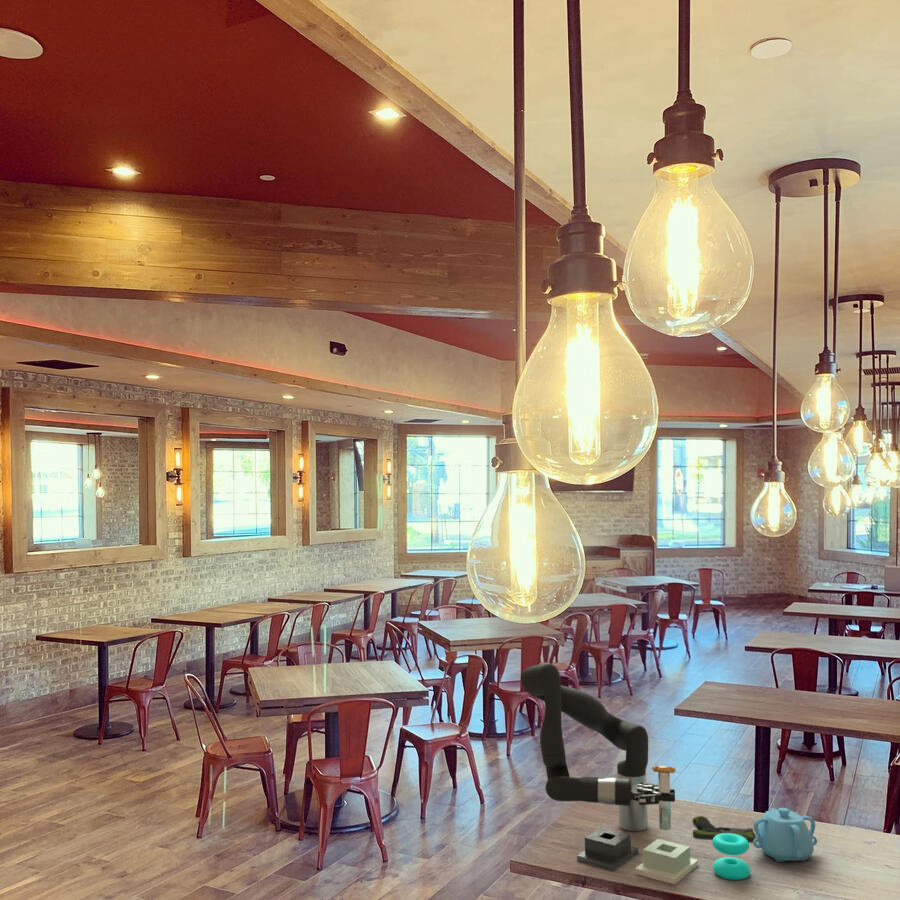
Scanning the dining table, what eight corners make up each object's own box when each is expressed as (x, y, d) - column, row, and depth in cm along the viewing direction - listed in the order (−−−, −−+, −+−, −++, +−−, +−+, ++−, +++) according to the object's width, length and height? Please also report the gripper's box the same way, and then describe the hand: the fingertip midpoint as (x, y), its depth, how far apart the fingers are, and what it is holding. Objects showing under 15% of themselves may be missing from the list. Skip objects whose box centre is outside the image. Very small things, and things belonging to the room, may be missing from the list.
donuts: (717, 829, 256) (752, 835, 250) (718, 864, 255) (753, 871, 250) (708, 840, 247) (744, 847, 242) (709, 876, 247) (745, 884, 241)
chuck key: (653, 829, 252) (652, 767, 253) (653, 825, 255) (652, 764, 256) (676, 831, 250) (675, 769, 251) (676, 827, 253) (675, 765, 254)
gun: (750, 826, 285) (757, 845, 270) (690, 822, 289) (693, 841, 274) (750, 818, 285) (757, 837, 270) (690, 814, 289) (693, 833, 274)
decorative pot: (825, 855, 260) (823, 809, 260) (799, 871, 249) (797, 823, 250) (773, 840, 272) (771, 796, 272) (746, 855, 261) (745, 808, 262)
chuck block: (603, 843, 272) (602, 823, 272) (638, 852, 264) (638, 832, 264) (577, 860, 259) (576, 840, 259) (613, 870, 252) (612, 849, 252)
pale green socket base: (659, 855, 262) (659, 834, 262) (698, 865, 254) (697, 844, 255) (635, 873, 249) (634, 852, 250) (674, 884, 242) (674, 862, 242)
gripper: (612, 785, 250) (674, 790, 246) (615, 771, 264) (674, 774, 259) (613, 812, 249) (675, 817, 245) (615, 796, 263) (674, 800, 259)
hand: (674, 795), depth 252 cm, fingers closed on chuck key, 3 cm apart
